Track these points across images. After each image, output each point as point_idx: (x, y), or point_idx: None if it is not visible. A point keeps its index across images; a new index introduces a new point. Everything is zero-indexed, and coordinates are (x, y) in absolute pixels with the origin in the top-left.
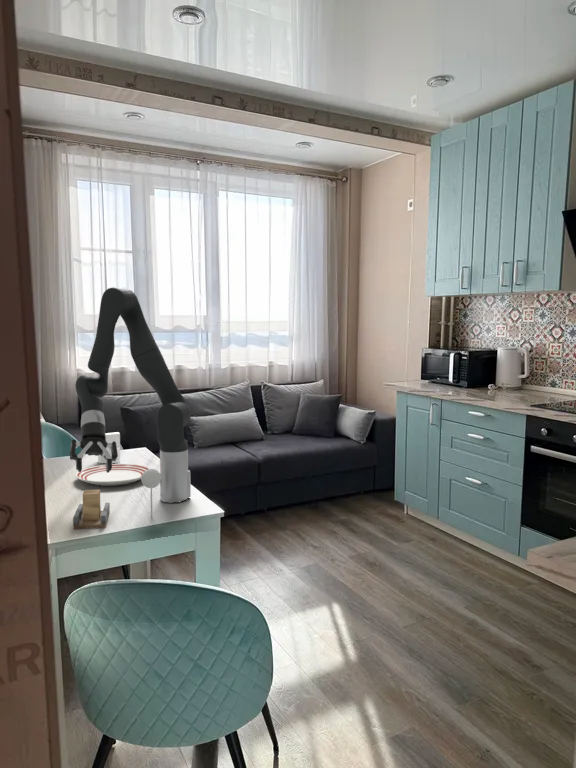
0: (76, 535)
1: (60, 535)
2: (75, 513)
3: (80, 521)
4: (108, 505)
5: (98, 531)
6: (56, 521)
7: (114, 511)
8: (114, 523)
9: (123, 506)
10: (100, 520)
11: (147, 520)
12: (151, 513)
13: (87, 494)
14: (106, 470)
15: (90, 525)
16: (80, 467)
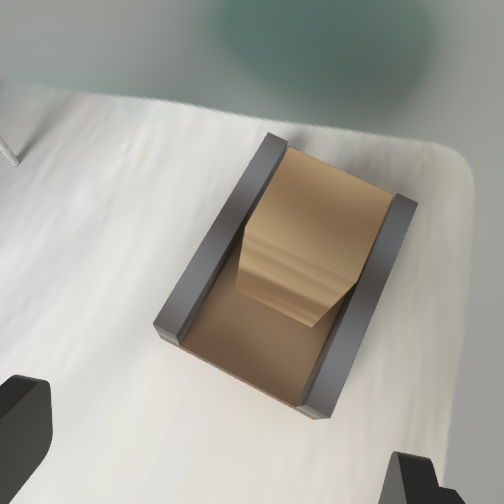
0: (396, 159)
1: (456, 198)
2: (393, 255)
3: None
4: (184, 273)
5: (304, 145)
6: (447, 393)
7: (121, 355)
8: (207, 188)
9: None
10: None
11: (64, 132)
12: (10, 151)
13: (361, 181)
14: (31, 469)
15: None
16: (420, 465)
